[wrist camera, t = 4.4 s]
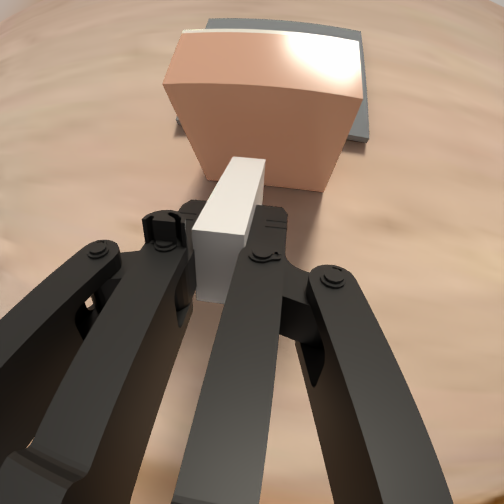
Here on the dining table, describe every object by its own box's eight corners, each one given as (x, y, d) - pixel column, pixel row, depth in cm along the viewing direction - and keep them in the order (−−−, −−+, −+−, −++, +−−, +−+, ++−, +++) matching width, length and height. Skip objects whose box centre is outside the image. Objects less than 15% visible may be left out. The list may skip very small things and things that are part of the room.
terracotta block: (323, 192, 24) (363, 98, 12) (207, 179, 25) (162, 83, 13) (326, 147, 25) (358, 41, 13) (216, 136, 25) (183, 29, 14)
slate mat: (366, 142, 25) (369, 138, 24) (178, 124, 26) (175, 119, 25) (359, 36, 27) (360, 31, 26) (210, 23, 28) (209, 18, 27)
